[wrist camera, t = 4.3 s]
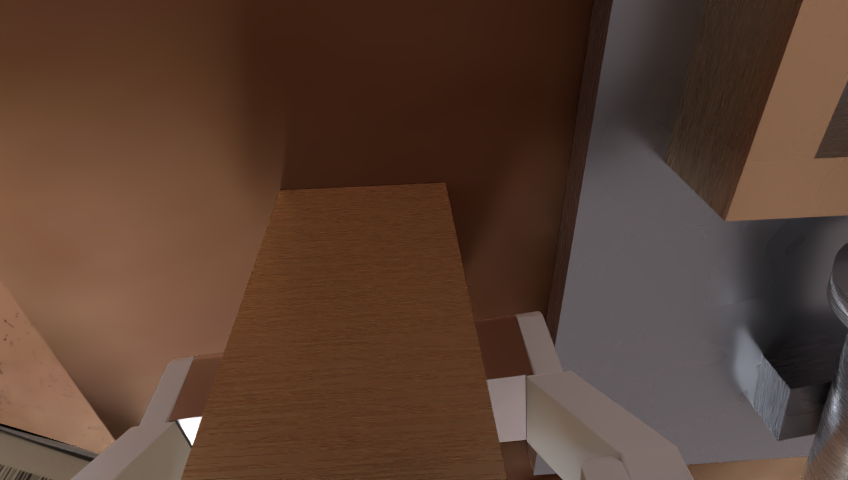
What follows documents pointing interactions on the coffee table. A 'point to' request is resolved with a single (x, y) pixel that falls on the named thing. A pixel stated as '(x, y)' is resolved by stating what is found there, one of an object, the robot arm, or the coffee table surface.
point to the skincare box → (38, 456)
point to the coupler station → (702, 211)
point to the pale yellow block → (353, 349)
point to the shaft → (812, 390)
